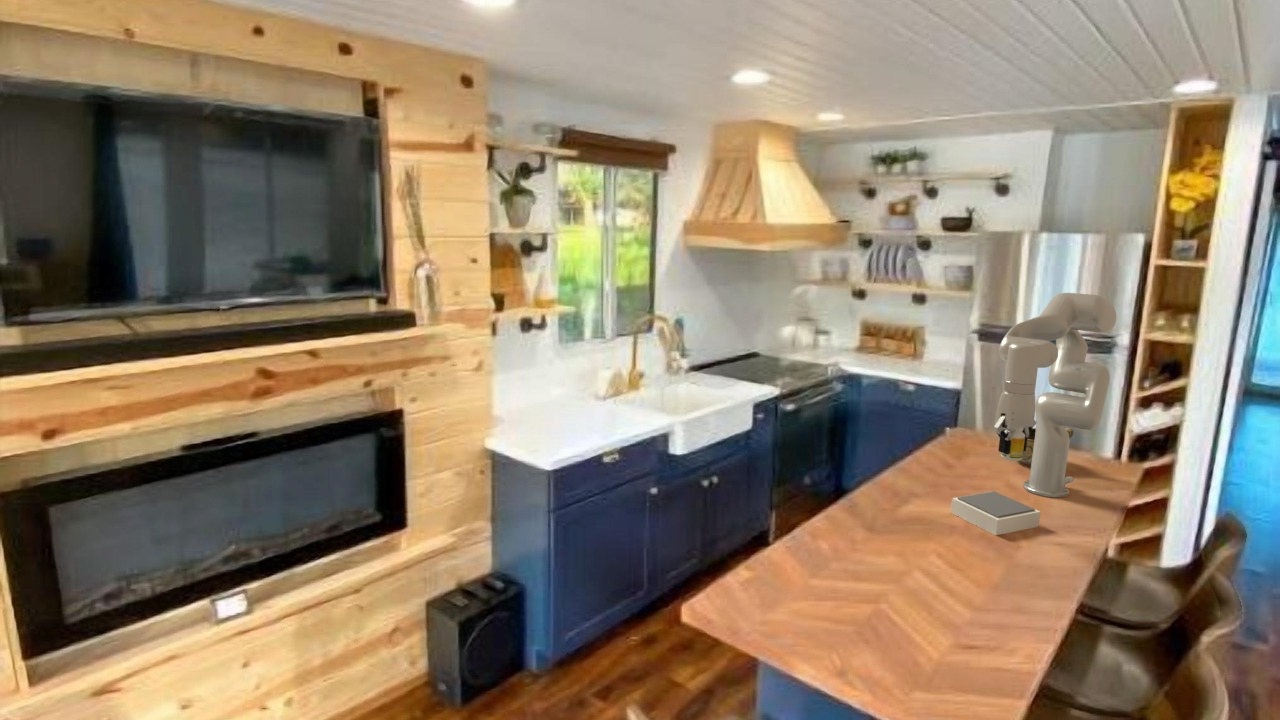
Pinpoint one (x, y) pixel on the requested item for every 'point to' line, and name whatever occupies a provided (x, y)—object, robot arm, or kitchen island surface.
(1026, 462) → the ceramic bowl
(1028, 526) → the plate
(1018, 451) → the supplement bottle
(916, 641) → the kitchen island surface
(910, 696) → the kitchen island surface
